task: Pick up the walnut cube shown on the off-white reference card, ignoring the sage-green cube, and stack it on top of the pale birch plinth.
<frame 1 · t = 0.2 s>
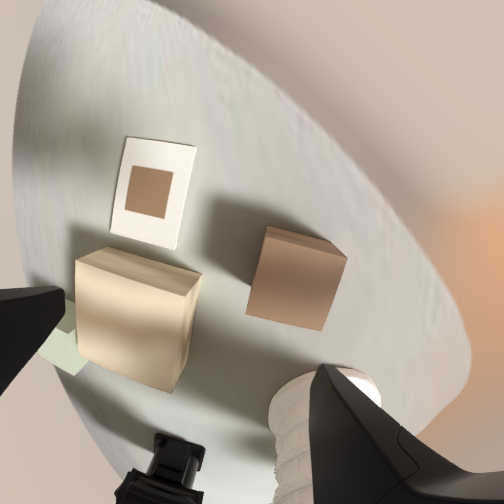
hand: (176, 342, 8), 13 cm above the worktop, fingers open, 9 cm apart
birch plinth: (147, 306, 23), on the worktop
reference card: (150, 191, 21), on the worktop
walnut cube: (290, 264, 21), on the worktop
sage cube: (79, 324, 24), on the worktop
decorative container: (324, 408, 25), on the worktop
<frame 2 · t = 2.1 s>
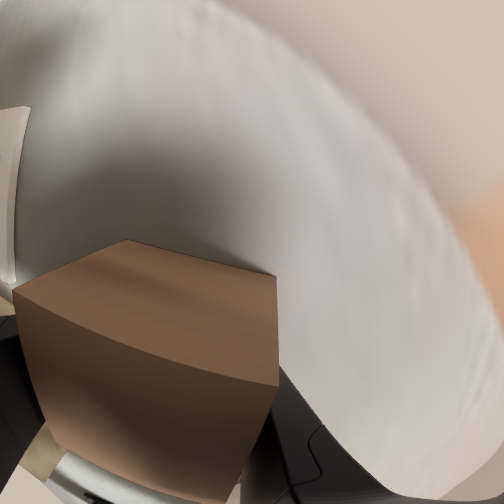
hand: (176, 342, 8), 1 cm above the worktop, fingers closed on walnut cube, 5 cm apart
birch plinth: (16, 358, 11), on the worktop
walnut cube: (185, 326, 9), on the worktop, touching gripper
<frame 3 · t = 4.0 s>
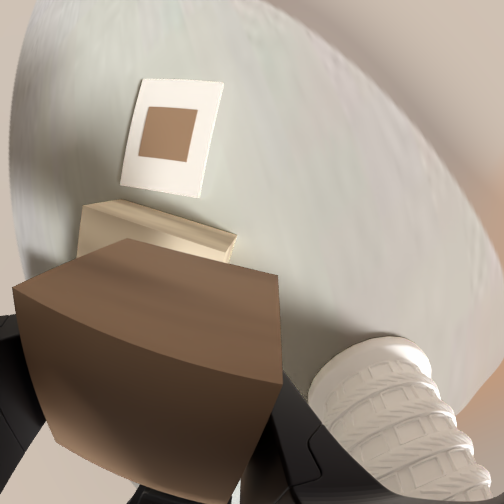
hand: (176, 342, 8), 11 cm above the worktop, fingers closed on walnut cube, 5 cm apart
birch plinth: (162, 273, 20), on the worktop
reference card: (169, 134, 17), on the worktop
walnut cube: (186, 325, 9), point 10 cm above the worktop, touching gripper
decorative container: (369, 388, 21), on the worktop
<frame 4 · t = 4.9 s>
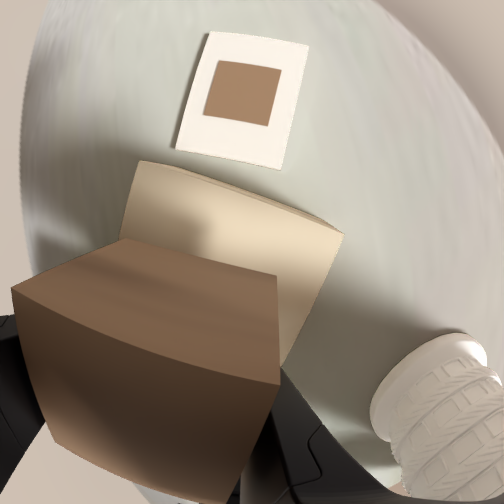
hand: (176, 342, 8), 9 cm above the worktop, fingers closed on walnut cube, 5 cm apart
birch plinth: (223, 263, 17), on the worktop
reference card: (243, 94, 14), on the worktop
walnut cube: (185, 325, 9), point 7 cm above the worktop, touching gripper
decorative container: (428, 388, 18), on the worktop
when the fingers open (7 cm above the worktop, at t = 5.9 s): walnut cube drops 1 cm, resting on birch plinth.
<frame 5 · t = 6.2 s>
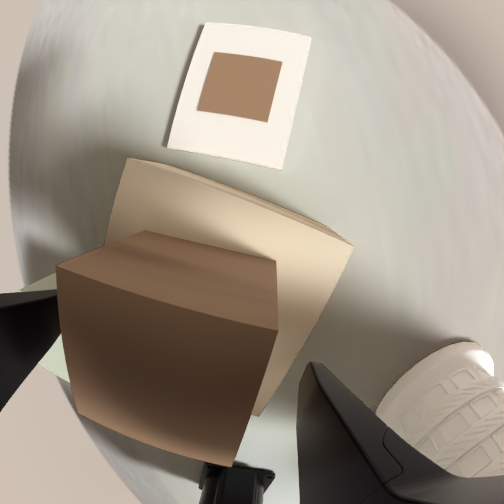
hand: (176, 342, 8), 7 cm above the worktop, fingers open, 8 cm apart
birch plinth: (218, 270, 15), on the worktop, touching walnut cube
reference card: (241, 88, 13), on the worktop
walnut cube: (196, 307, 10), point 5 cm above the worktop, touching birch plinth
sage cube: (95, 309, 16), on the worktop
decorative container: (434, 398, 17), on the worktop
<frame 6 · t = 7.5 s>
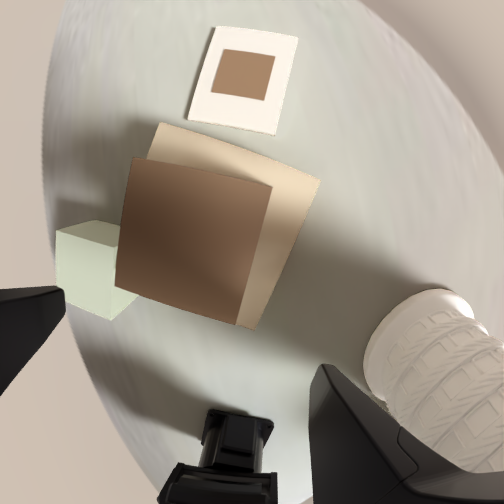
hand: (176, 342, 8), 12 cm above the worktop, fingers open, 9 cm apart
birch plinth: (222, 217, 19), on the worktop, touching walnut cube
reference card: (244, 76, 16), on the worktop
walnut cube: (212, 222, 14), point 5 cm above the worktop, touching birch plinth
sage cube: (117, 256, 20), on the worktop
decorative container: (419, 346, 20), on the worktop
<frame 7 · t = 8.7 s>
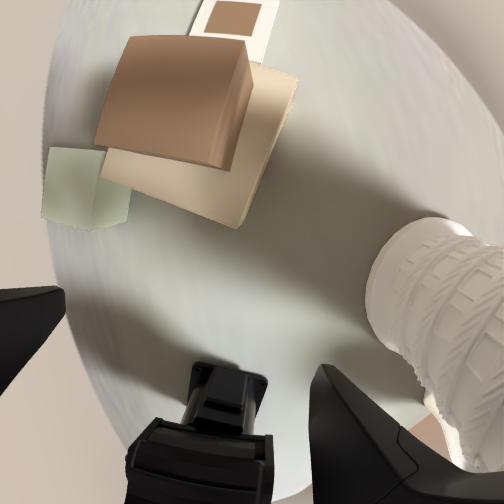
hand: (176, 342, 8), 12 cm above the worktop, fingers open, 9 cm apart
birch plinth: (209, 138, 18), on the worktop, touching walnut cube
reference card: (234, 20, 16), on the worktop
walnut cube: (196, 118, 13), point 5 cm above the worktop, touching birch plinth
sage cube: (106, 184, 19), on the worktop
decorative container: (426, 286, 19), on the worktop
beer glass: (445, 385, 22), on the worktop
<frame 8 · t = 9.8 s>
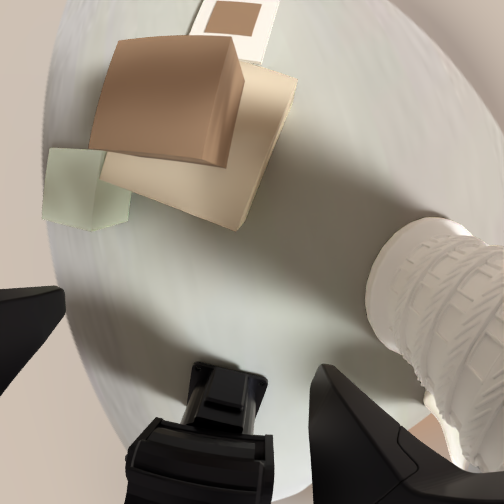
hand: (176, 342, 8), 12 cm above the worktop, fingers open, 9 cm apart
birch plinth: (209, 140, 18), on the worktop, touching walnut cube
reference card: (234, 20, 16), on the worktop
walnut cube: (190, 117, 13), point 5 cm above the worktop, touching birch plinth
sage cube: (106, 185, 19), on the worktop
decorative container: (426, 286, 19), on the worktop
beer glass: (445, 385, 22), on the worktop
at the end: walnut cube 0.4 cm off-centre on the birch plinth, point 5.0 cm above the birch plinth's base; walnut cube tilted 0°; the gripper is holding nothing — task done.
